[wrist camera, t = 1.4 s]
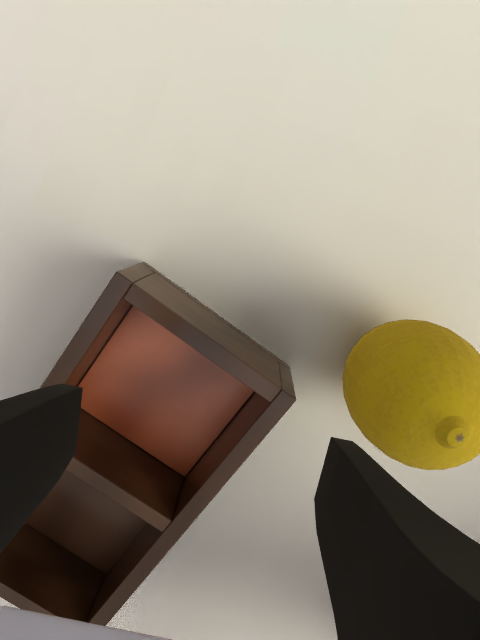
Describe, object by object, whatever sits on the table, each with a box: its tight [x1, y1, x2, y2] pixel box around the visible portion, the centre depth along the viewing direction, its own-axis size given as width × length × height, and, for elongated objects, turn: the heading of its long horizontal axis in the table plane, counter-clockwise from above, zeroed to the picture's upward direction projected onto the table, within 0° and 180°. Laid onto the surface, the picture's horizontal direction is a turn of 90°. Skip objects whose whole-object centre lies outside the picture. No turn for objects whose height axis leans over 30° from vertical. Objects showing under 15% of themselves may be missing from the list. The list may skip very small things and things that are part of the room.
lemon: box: [343, 320, 480, 470], centre depth 17 cm, size 6×6×8 cm
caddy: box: [0, 262, 296, 626], centre depth 21 cm, size 9×17×4 cm, turn 144°
